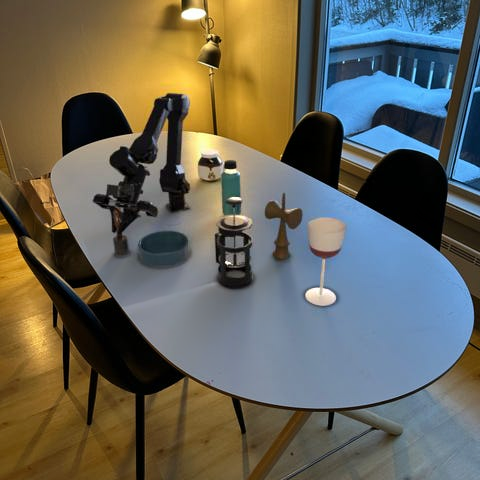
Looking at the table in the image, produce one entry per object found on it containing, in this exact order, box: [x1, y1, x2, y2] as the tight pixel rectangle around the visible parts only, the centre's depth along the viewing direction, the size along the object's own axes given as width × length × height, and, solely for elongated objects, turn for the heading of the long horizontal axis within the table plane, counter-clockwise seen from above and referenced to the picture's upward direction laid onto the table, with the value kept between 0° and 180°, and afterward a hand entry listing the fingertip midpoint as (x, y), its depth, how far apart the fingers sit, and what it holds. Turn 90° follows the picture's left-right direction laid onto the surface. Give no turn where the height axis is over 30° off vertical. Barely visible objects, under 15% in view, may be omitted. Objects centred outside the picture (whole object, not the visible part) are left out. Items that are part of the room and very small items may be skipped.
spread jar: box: [197, 149, 228, 183], centre depth 183 cm, size 12×11×12 cm
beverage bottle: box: [220, 159, 242, 216], centre depth 147 cm, size 6×7×20 cm
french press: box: [214, 197, 254, 290], centre depth 114 cm, size 12×9×23 cm
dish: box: [137, 230, 190, 267], centre depth 129 cm, size 14×14×4 cm
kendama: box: [264, 192, 304, 261], centre depth 124 cm, size 6×10×20 cm, turn 46°
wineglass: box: [305, 217, 347, 307], centre depth 107 cm, size 8×9×20 cm
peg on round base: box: [112, 210, 130, 257], centre depth 127 cm, size 4×4×14 cm
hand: (116, 233), depth 126 cm, fingers closed on peg on round base, 2 cm apart
